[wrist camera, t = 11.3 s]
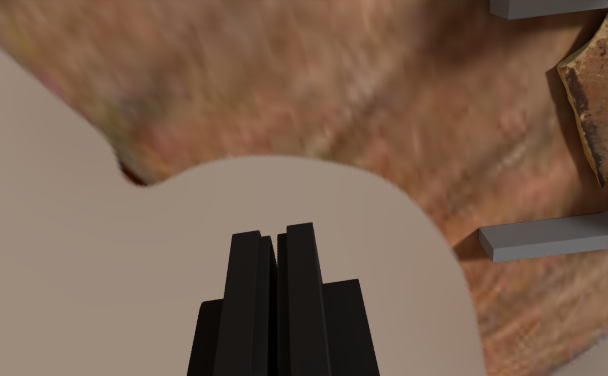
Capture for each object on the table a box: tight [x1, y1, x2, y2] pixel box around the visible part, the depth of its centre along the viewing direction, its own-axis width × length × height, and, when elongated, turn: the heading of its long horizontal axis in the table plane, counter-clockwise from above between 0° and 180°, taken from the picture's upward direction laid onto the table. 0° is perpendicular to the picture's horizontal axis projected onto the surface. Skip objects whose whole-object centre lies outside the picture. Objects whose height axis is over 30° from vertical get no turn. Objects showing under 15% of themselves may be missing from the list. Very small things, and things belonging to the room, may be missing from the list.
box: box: [479, 0, 608, 263], centre depth 35 cm, size 18×14×3 cm
